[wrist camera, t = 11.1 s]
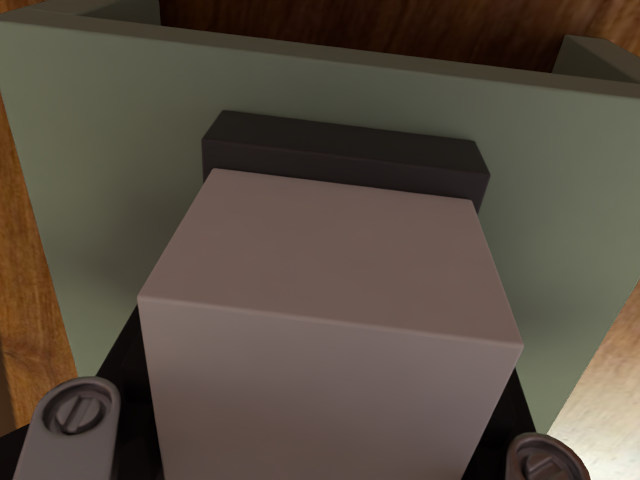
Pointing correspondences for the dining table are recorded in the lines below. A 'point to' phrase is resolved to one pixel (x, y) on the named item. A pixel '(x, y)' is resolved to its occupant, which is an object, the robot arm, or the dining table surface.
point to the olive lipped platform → (330, 107)
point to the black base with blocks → (327, 308)
